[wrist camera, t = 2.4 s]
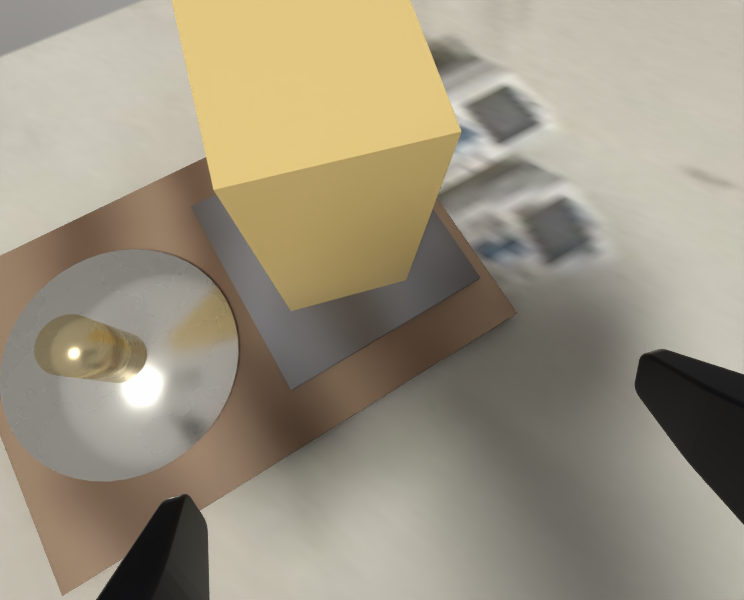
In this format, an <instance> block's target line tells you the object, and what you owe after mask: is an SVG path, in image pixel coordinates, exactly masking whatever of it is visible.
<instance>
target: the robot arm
mask: <svg viewBox="0 0 744 600" xmlns="http://www.w3.org/2000/svg"><path fill="white" fill-rule="evenodd" d="M635 389H636V392H637V394H638V396H639V397H640V399H641V400H642V401H643V403H644V404H645V406H646V407H647V408H648V410H649V411H650V412H651V414H652V415H653V416H654V418H655V419H656V420H657V422H658V423H659V424H660V426H661V427H662V428H663V430H664V431H665V432H666V434H667V435H668V436H669V438H670V439H671V440H672V442H673V443H674V444H675V446H676V447H677V449H678V450H679V451H680V452H681V454H682V455H683V456H684V458H685V459H686V460H687V461H688V463H689V464H690V465H691V466H692V467H693V468H694V470H695V471H696V472H697V473H698V474H699V475H700V476H701V477H702V479H703V480H704V481H705V482H706V483H707V484H708V485H709V486H710V488H711V489H712V490H713V491H714V492H715V493H716V494H717V495H718V496H719V498H720V499H721V500H722V501H723V502H724V503H725V504H726V505H727V506H728V508H729V509H730V510H731V511H732V512H733V513H734V514H735V515H736V517H737V518H738V519H739V520H740V521H741V522H742V523H743V524H744V374H741V373H738V372H735V371H731V370H728V369H725V368H722V367H719V366H716V365H713V364H710V363H706V362H703V361H700V360H697V359H694V358H691V357H688V356H685V355H681V354H678V353H675V352H672V351H669V350H665V349H658V350H655V351H651V352H648V353H645V354H643V355H642V356H641V357H640V359H639V364H638V369H637V374H636V379H635ZM96 600H210V599H209V561H208V529H207V524H206V521H205V519H204V517H203V515H202V514H201V512H200V511H199V509H198V507H197V506H196V504H195V503H194V501H193V500H192V498H191V497H190V496H189V495H188V494H181V495H178V496H175V497H171V498H168V499H166V500H164V501H163V502H162V503H161V504H160V505H159V506H158V508H157V509H156V511H155V512H154V514H153V515H152V517H151V518H150V520H149V521H148V523H147V524H146V526H145V527H144V529H143V530H142V532H141V533H140V535H139V536H138V538H137V539H136V541H135V542H134V544H133V545H132V547H131V548H130V550H129V551H128V553H127V554H126V556H125V557H124V559H123V560H122V562H121V563H120V565H119V566H118V568H117V569H116V571H115V572H114V574H113V575H112V577H111V578H110V580H109V581H108V583H107V584H106V586H105V587H104V589H103V590H102V592H101V593H100V595H99V596H98V598H97V599H96Z"/></svg>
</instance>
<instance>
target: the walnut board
mask: <svg viewBox="0 0 744 600" xmlns="http://www.w3.org/2000/svg"><path fill="white" fill-rule="evenodd" d="M130 249H140V250H152V251H158V252H163V253H166V254H169V255H173V256H176V257H178V258H180V259H182V260H184V261H187V262H188V263H190V264H192V265H193V266H195V267H196V268H198V269H199V270H200V271H202V272H203V273H204V274H205V275H206V276H208V277H209V278H210V279H211V280H212V281H213V282H214V284H215V285H216V286H217V287H218V288H219V289H220V291H221V292H222V294H223V295H224V297H225V298H226V300H227V301H228V303H229V306H230V308H231V310H232V312H233V315H234V318H235V321H236V324H237V329H238V335H239V347H240V356H239V366H238V372H237V376H236V380H235V384H234V387H233V390H232V392H231V395H230V398H229V400H228V402H227V404H226V406H225V408H224V410H223V411H222V413H221V415H220V416H219V418H218V419H217V421H216V422H215V424H214V425H213V426H212V428H211V429H210V430H209V431H208V432H207V433H206V434H205V436H204V437H203V438H202V439H201V440H200V441H199V442H198V443H197V444H196V445H194V446H193V447H192V448H191V449H190V450H189V451H187V452H186V453H185V454H183V455H182V456H180V457H179V458H178V459H176V460H175V461H173V462H171V463H169V464H167V465H165V466H163V467H162V468H160V469H157V470H155V471H152V472H149V473H147V474H144V475H141V476H137V477H133V478H129V479H125V480H116V481H108V482H107V481H87V480H81V479H75V478H72V477H69V476H66V475H63V474H60V473H58V472H56V471H54V470H52V469H50V468H48V467H46V466H45V465H43V464H42V463H40V462H39V461H38V460H36V459H35V458H34V457H33V456H32V455H31V454H30V453H29V452H28V451H27V450H26V449H25V448H23V446H22V445H21V444H20V442H19V441H18V439H17V438H16V437H15V435H14V434H13V432H12V430H11V428H10V426H9V424H8V422H7V419H6V416H5V413H4V410H3V406H2V401H1V395H0V436H1V438H2V441H3V444H4V446H5V449H6V451H7V454H8V457H9V459H10V462H11V464H12V467H13V470H14V472H15V475H16V477H17V480H18V482H19V485H20V488H21V490H22V493H23V495H24V498H25V501H26V503H27V506H28V508H29V511H30V514H31V516H32V519H33V521H34V524H35V527H36V529H37V532H38V534H39V537H40V540H41V542H42V545H43V547H44V550H45V553H46V555H47V558H48V560H49V563H50V566H51V568H52V571H53V573H54V576H55V579H56V581H57V584H58V586H59V589H60V592H61V594H62V596H63V595H65V594H66V593H68V592H69V591H71V590H73V589H74V588H76V587H78V586H79V585H81V584H82V583H84V582H86V581H87V580H89V579H90V578H92V577H94V576H95V575H97V574H98V573H100V572H102V571H103V570H105V569H107V568H108V567H110V566H111V565H113V564H115V563H116V562H118V561H119V560H121V559H123V558H124V557H125V556H126V554H127V553H128V551H129V550H130V548H131V547H132V545H133V544H134V542H135V541H136V539H137V538H138V536H139V535H140V533H141V532H142V530H143V529H144V527H145V526H146V524H147V523H148V521H149V520H150V518H151V517H152V515H153V514H154V512H155V511H156V509H157V508H158V506H159V505H160V504H161V503H162V502H163V501H164V500H166V499H168V498H171V497H175V496H178V495H181V494H188V495H189V496H190V497H191V498H192V500H193V501H194V503H195V504H196V506H197V507H198V509H199V511H200V510H201V509H203V508H205V507H206V506H208V505H209V504H211V503H213V502H214V501H216V500H217V499H219V498H221V497H222V496H224V495H226V494H227V493H229V492H230V491H232V490H234V489H235V488H237V487H238V486H240V485H242V484H243V483H245V482H246V481H248V480H250V479H251V478H253V477H254V476H256V475H258V474H259V473H261V472H262V471H264V470H266V469H267V468H269V467H271V466H272V465H274V464H275V463H277V462H279V461H280V460H282V459H283V458H285V457H287V456H288V455H290V454H291V453H293V452H295V451H296V450H298V449H299V448H301V447H303V446H304V445H306V444H308V443H309V442H311V441H312V440H314V439H316V438H317V437H319V436H320V435H322V434H324V433H325V432H327V431H328V430H330V429H332V428H333V427H335V426H336V425H338V424H340V423H341V422H343V421H344V420H346V419H348V418H349V417H351V416H353V415H354V414H356V413H357V412H359V411H361V410H362V409H364V408H365V407H367V406H369V405H370V404H372V403H373V402H375V401H377V400H378V399H380V398H381V397H383V396H385V395H386V394H388V393H390V392H391V391H393V390H394V389H396V388H398V387H399V386H401V385H402V384H404V383H406V382H407V381H409V380H410V379H412V378H414V377H415V376H417V375H418V374H420V373H422V372H423V371H425V370H427V369H428V368H430V367H431V366H433V365H435V364H436V363H438V362H439V361H441V360H443V359H444V358H446V357H447V356H449V355H451V354H452V353H454V352H455V351H457V350H459V349H460V348H462V347H463V346H465V345H467V344H468V343H470V342H472V341H473V340H475V339H476V338H478V337H480V336H481V335H483V334H484V333H486V332H488V331H489V330H491V329H492V328H494V327H496V326H497V325H499V324H500V323H502V322H504V321H505V320H507V319H509V318H510V317H512V316H513V315H515V314H517V312H516V311H515V309H514V308H513V306H512V305H511V304H510V302H509V301H508V299H507V298H506V296H505V295H504V294H503V292H502V291H501V289H500V288H499V286H498V285H497V284H496V282H495V281H494V279H493V278H492V276H491V275H490V274H489V272H488V271H487V269H486V268H485V266H484V265H483V263H482V262H481V261H480V259H479V258H478V256H477V255H476V253H475V252H474V251H473V249H472V248H471V246H470V245H469V243H468V242H467V241H466V239H465V238H464V236H463V235H462V233H461V232H460V231H459V229H458V228H457V226H456V225H455V223H454V222H453V221H452V219H451V218H450V216H449V215H448V213H447V212H446V211H445V209H444V208H443V206H442V205H441V203H440V202H439V200H438V199H437V198H436V201H435V204H434V207H433V209H432V212H431V215H430V217H429V220H428V223H427V225H426V228H425V231H424V233H423V236H422V239H421V241H420V244H419V247H418V250H417V252H416V255H415V258H414V260H413V263H412V266H411V268H410V271H409V274H408V276H407V279H406V280H405V281H401V282H398V283H394V284H390V285H386V286H383V287H379V288H375V289H372V290H368V291H364V292H360V293H357V294H353V295H349V296H346V297H342V298H338V299H334V300H331V301H327V302H323V303H320V304H316V305H312V306H308V307H305V308H301V309H297V310H294V311H291V310H290V309H289V307H288V306H287V304H286V303H285V301H284V300H283V298H282V296H281V295H280V293H279V292H278V290H277V289H276V287H275V285H274V284H273V282H272V281H271V279H270V278H269V276H268V274H267V273H266V271H265V270H264V268H263V267H262V265H261V263H260V262H259V260H258V259H257V257H256V256H255V254H254V253H253V251H252V249H251V248H250V246H249V245H248V243H247V242H246V240H245V238H244V237H243V235H242V234H241V232H240V231H239V229H238V227H237V226H236V224H235V223H234V221H233V220H232V218H231V216H230V215H229V213H228V212H227V210H226V209H225V207H224V206H223V204H222V202H221V201H220V199H219V198H218V196H217V195H216V193H215V191H214V190H213V185H212V181H211V176H210V172H209V167H208V163H207V158H206V157H205V158H203V159H201V160H199V161H197V162H195V163H193V164H191V165H189V166H187V167H185V168H182V169H180V170H178V171H176V172H174V173H172V174H170V175H168V176H166V177H164V178H162V179H159V180H157V181H155V182H153V183H151V184H149V185H147V186H145V187H143V188H141V189H139V190H137V191H134V192H132V193H130V194H128V195H126V196H124V197H122V198H120V199H118V200H116V201H114V202H112V203H109V204H107V205H105V206H103V207H101V208H99V209H97V210H95V211H93V212H91V213H89V214H87V215H84V216H82V217H80V218H78V219H76V220H74V221H72V222H70V223H68V224H66V225H64V226H62V227H59V228H57V229H55V230H53V231H51V232H49V233H47V234H45V235H43V236H41V237H39V238H37V239H34V240H32V241H30V242H28V243H26V244H24V245H22V246H20V247H18V248H16V249H14V250H12V251H9V252H7V253H5V254H3V255H1V256H0V370H1V361H2V357H3V353H4V349H5V345H6V343H7V340H8V338H9V335H10V332H11V330H12V328H13V326H14V325H15V323H16V321H17V319H18V317H19V316H20V314H21V313H22V311H23V310H24V308H25V307H26V305H27V304H28V303H29V302H30V301H31V299H32V298H33V297H34V296H35V295H36V294H37V292H38V291H40V290H41V289H42V288H43V287H44V286H45V285H46V284H47V283H48V282H49V281H51V280H52V279H53V278H55V277H56V276H57V275H59V274H60V273H61V272H63V271H65V270H66V269H68V268H70V267H72V266H73V265H75V264H77V263H79V262H82V261H84V260H86V259H88V258H91V257H94V256H97V255H100V254H103V253H108V252H113V251H118V250H130Z"/></svg>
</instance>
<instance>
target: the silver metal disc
mask: <svg viewBox="0 0 744 600" xmlns="http://www.w3.org/2000/svg"><path fill="white" fill-rule="evenodd" d="M239 356H240V347H239V335H238V329H237V324H236V321H235V318H234V315H233V312H232V310H231V308H230V306H229V303H228V301H227V300H226V298H225V297H224V295H223V294H222V292H221V291H220V289H219V288H218V287H217V286H216V285H215V284H214V282H213V281H212V280H211V279H210V278H209V277H208V276H206V275H205V274H204V273H203V272H202V271H200V270H199V269H198V268H196V267H195V266H193V265H192V264H190V263H188V262H187V261H184V260H182V259H180V258H178V257H176V256H173V255H169V254H166V253H163V252H158V251H152V250H140V249H130V250H118V251H113V252H108V253H103V254H100V255H97V256H94V257H91V258H88V259H86V260H84V261H82V262H79V263H77V264H75V265H73V266H72V267H70V268H68V269H66V270H65V271H63V272H61V273H60V274H59V275H57V276H56V277H55V278H53V279H52V280H51V281H49V282H48V283H47V284H46V285H45V286H44V287H43V288H42V289H41V290H40V291H38V292H37V294H36V295H35V296H34V297H33V298H32V299H31V301H30V302H29V303H28V304H27V305H26V307H25V308H24V310H23V311H22V313H21V314H20V316H19V317H18V319H17V321H16V323H15V325H14V326H13V328H12V330H11V332H10V335H9V338H8V340H7V343H6V345H5V349H4V353H3V357H2V361H1V370H0V395H1V401H2V406H3V410H4V413H5V416H6V419H7V422H8V424H9V426H10V428H11V430H12V432H13V434H14V435H15V437H16V438H17V439H18V441H19V442H20V444H21V445H22V446H23V448H25V449H26V450H27V451H28V452H29V453H30V454H31V455H32V456H33V457H34V458H35V459H36V460H38V461H39V462H40V463H42V464H43V465H45V466H46V467H48V468H50V469H52V470H54V471H56V472H58V473H60V474H63V475H66V476H69V477H72V478H75V479H81V480H87V481H107V482H108V481H116V480H125V479H129V478H133V477H137V476H141V475H144V474H147V473H149V472H152V471H155V470H157V469H160V468H162V467H163V466H165V465H167V464H169V463H171V462H173V461H175V460H176V459H178V458H179V457H180V456H182V455H183V454H185V453H186V452H187V451H189V450H190V449H191V448H192V447H193V446H194V445H196V444H197V443H198V442H199V441H200V440H201V439H202V438H203V437H204V436H205V434H206V433H207V432H208V431H209V430H210V429H211V428H212V426H213V425H214V424H215V422H216V421H217V419H218V418H219V416H220V415H221V413H222V411H223V410H224V408H225V406H226V404H227V402H228V400H229V398H230V395H231V392H232V390H233V387H234V384H235V380H236V376H237V372H238V366H239Z"/></svg>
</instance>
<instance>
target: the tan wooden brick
mask: <svg viewBox="0 0 744 600" xmlns="http://www.w3.org/2000/svg"><path fill="white" fill-rule="evenodd" d="M172 4H173V9H174V13H175V18H176V22H177V27H178V31H179V36H180V40H181V45H182V49H183V54H184V58H185V63H186V67H187V72H188V77H189V81H190V86H191V90H192V95H193V99H194V104H195V108H196V113H197V117H198V122H199V126H200V131H201V135H202V140H203V145H204V149H205V154H206V158H207V163H208V167H209V172H210V176H211V181H212V185H213V190H214V191H215V193H216V195H217V196H218V198H219V199H220V201H221V202H222V204H223V206H224V207H225V209H226V210H227V212H228V213H229V215H230V216H231V218H232V220H233V221H234V223H235V224H236V226H237V227H238V229H239V231H240V232H241V234H242V235H243V237H244V238H245V240H246V242H247V243H248V245H249V246H250V248H251V249H252V251H253V253H254V254H255V256H256V257H257V259H258V260H259V262H260V263H261V265H262V267H263V268H264V270H265V271H266V273H267V274H268V276H269V278H270V279H271V281H272V282H273V284H274V285H275V287H276V289H277V290H278V292H279V293H280V295H281V296H282V298H283V300H284V301H285V303H286V304H287V306H288V307H289V309H290V310H291V311H294V310H297V309H301V308H305V307H308V306H312V305H316V304H320V303H323V302H327V301H331V300H334V299H338V298H342V297H346V296H349V295H353V294H357V293H360V292H364V291H368V290H372V289H375V288H379V287H383V286H386V285H390V284H394V283H398V282H401V281H405V280H406V279H407V276H408V274H409V271H410V268H411V266H412V263H413V260H414V258H415V255H416V252H417V250H418V247H419V244H420V241H421V239H422V236H423V233H424V231H425V228H426V225H427V223H428V220H429V217H430V215H431V212H432V209H433V207H434V204H435V201H436V198H437V196H438V193H439V190H440V188H441V185H442V182H443V180H444V177H445V174H446V172H447V169H448V166H449V163H450V161H451V158H452V155H453V153H454V150H455V147H456V145H457V142H458V139H459V137H460V134H461V129H460V127H459V124H458V122H457V119H456V117H455V114H454V111H453V109H452V106H451V104H450V101H449V99H448V96H447V93H446V91H445V88H444V86H443V83H442V81H441V78H440V76H439V73H438V70H437V68H436V65H435V63H434V60H433V58H432V55H431V52H430V50H429V47H428V45H427V42H426V40H425V37H424V35H423V32H422V29H421V27H420V24H419V22H418V19H417V17H416V14H415V11H414V9H413V6H412V4H411V1H410V0H172Z"/></svg>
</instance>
